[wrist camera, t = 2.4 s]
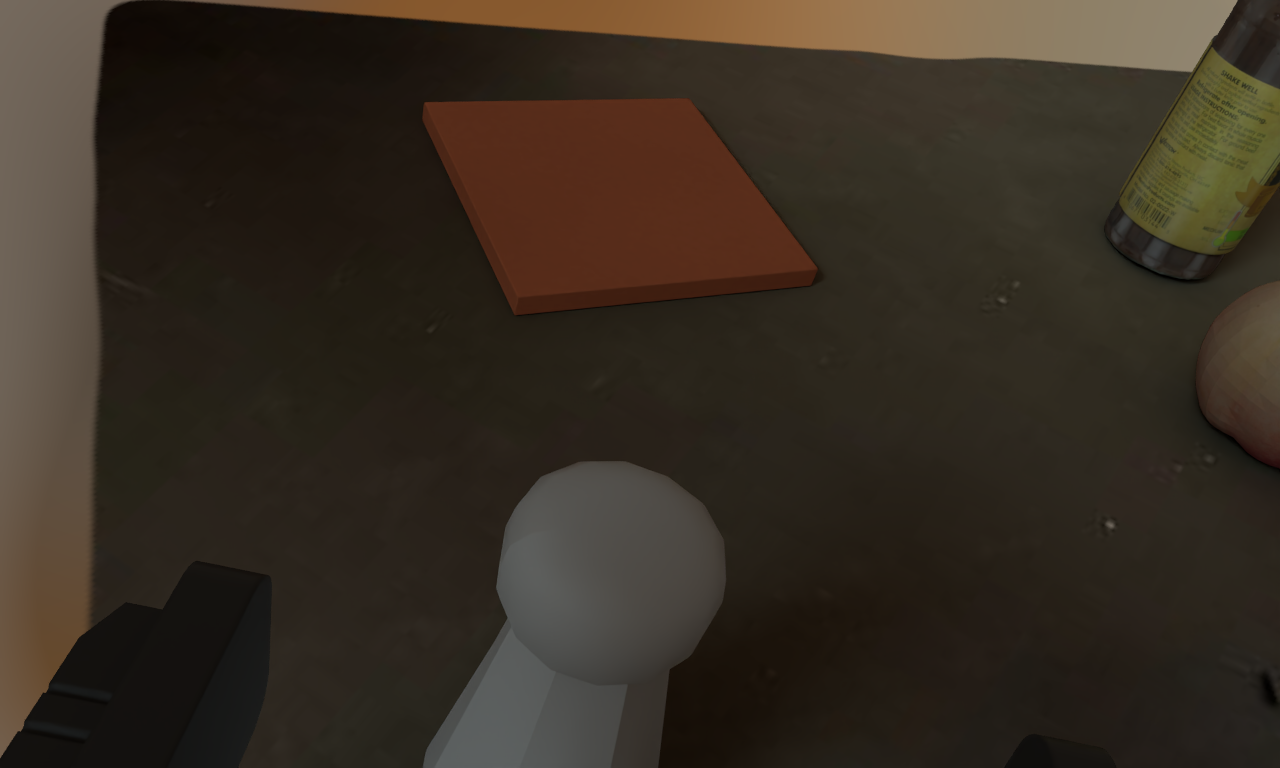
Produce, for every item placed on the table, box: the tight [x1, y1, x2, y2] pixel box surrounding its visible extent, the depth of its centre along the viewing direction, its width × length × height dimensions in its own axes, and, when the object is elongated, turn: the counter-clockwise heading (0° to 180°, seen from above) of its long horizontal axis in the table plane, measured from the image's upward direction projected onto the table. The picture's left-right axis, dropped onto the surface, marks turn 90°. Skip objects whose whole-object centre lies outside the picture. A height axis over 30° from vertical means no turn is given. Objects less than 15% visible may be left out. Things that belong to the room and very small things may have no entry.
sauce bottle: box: [1104, 0, 1280, 280], centre depth 52 cm, size 6×6×20 cm
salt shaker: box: [423, 461, 726, 768], centre depth 25 cm, size 6×6×13 cm
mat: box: [422, 98, 818, 315], centre depth 50 cm, size 14×14×1 cm
